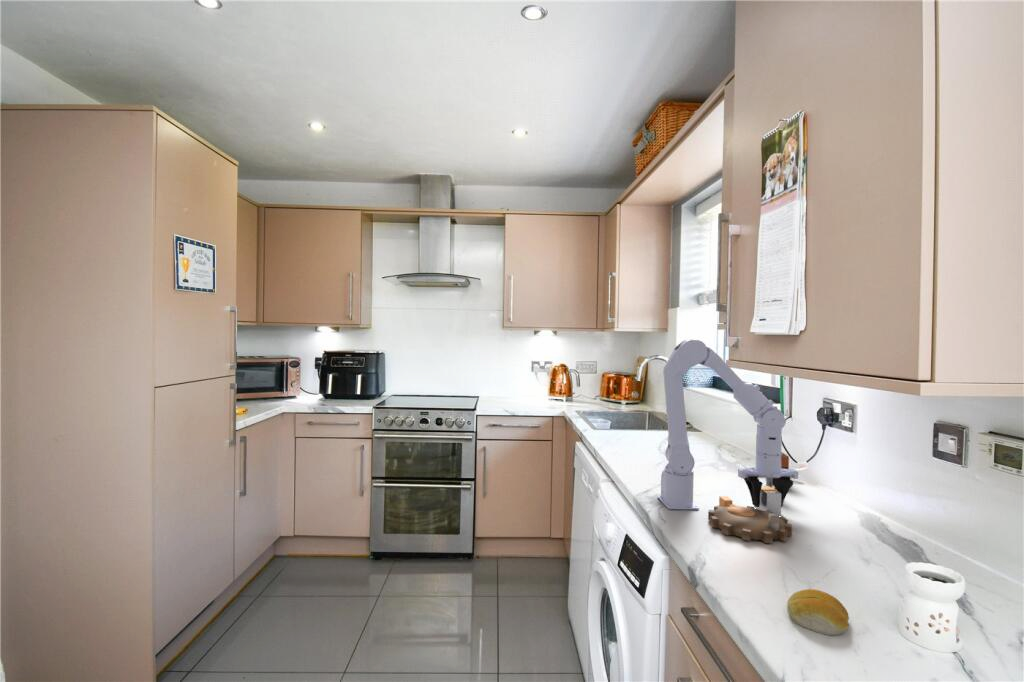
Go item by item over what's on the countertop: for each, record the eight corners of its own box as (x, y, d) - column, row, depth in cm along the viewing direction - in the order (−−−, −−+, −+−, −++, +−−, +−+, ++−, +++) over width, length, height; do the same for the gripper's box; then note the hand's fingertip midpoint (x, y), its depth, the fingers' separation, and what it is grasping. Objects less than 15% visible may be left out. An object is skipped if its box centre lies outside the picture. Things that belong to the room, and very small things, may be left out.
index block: (719, 507, 124) (719, 496, 124) (726, 507, 124) (726, 496, 124) (724, 512, 121) (724, 500, 121) (732, 512, 121) (732, 500, 121)
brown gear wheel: (696, 525, 111) (697, 504, 111) (724, 507, 123) (725, 488, 123) (778, 550, 99) (778, 526, 99) (800, 526, 111) (800, 505, 111)
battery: (780, 479, 150) (780, 448, 150) (788, 486, 143) (789, 453, 143) (765, 478, 150) (765, 447, 150) (773, 485, 144) (774, 452, 144)
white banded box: (753, 508, 124) (754, 484, 124) (767, 508, 124) (768, 484, 124) (766, 517, 118) (766, 492, 118) (781, 517, 118) (781, 492, 118)
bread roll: (848, 615, 77) (849, 591, 77) (847, 644, 70) (848, 617, 70) (790, 598, 82) (790, 575, 82) (783, 623, 75) (784, 598, 75)
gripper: (748, 456, 117) (747, 511, 117) (806, 457, 117) (805, 511, 118) (734, 449, 124) (733, 501, 124) (789, 450, 124) (788, 501, 125)
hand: (767, 505), depth 121 cm, fingers open, 5 cm apart
